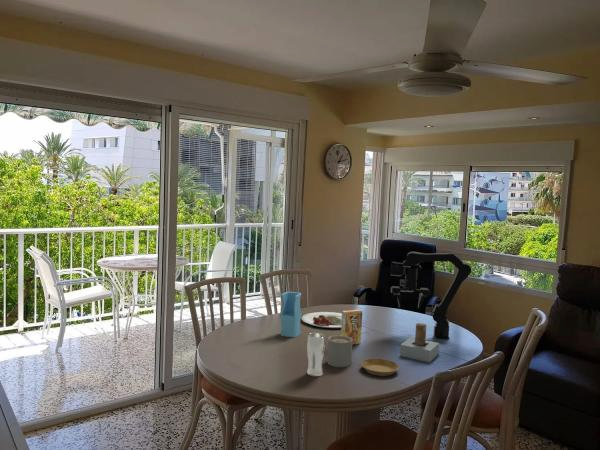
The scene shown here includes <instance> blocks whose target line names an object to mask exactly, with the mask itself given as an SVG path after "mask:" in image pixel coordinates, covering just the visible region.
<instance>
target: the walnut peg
mask: <svg viewBox="0 0 600 450" xmlns="http://www.w3.org/2000/svg"><path fill="white" fill-rule="evenodd" d="M426 335H427V324H426V323H420V322H418V323H416V324H415V333H414V336H415V337H414V338H415V345H418V346H423V347H425V341H427V339H426V338H427V336H426Z"/></svg>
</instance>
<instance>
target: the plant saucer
mask: <svg viewBox="0 0 600 450" xmlns="http://www.w3.org/2000/svg"><path fill="white" fill-rule="evenodd" d="M360 365H361V366H362V368H363V369H364V370H365V371H366V372H367V373H369V374H371V375H374V376H378V377H386V376H387V377H389V376H392V375H393V374H395V373H396V372H397V371H398V369H399V368H400V366H399V365H398V363H396V362H394V361H392V360H389V359H385V358H377V357H376V358H373V357H372V358H366V359H364V360H362V361H361V362H360Z"/></svg>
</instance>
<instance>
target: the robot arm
mask: <svg viewBox="0 0 600 450" xmlns="http://www.w3.org/2000/svg"><path fill="white" fill-rule="evenodd" d="M426 262H429V263H430V262H450V263H452V265H453V266H454V267H455V268H456V269H457V270H456V272H455V276H454V279H453V281H452V283H451V284H450V286H449V288H448V289H447V291H446V293H445V295H444V296H443V297H442V298H443V299H442V300H441V302H440V303H439V304H438V303H435V305H434V308H432V313H431V314H432V319H433V321H434V322H435V323H434V326H433V336H434V337H435V339H445V340H446V339H447V340H448V339H449V340H450V325H449V324H450V323H449V318H448V317H447V313H448V310H449V307H450V305H451V303H452V301H453V300H454V297H455V296H456V294H457V292H458V290H459V289H460V287H461V285H462V283H464V281H465V280H466V279H468V277H469V276H470V274H471V273H472V268H471V265H470V264H469V263H468V262H464V261H462V259H460V258H459V257H458V256H457V255H456V254H455V253H454V252H448V253H446V252H445V253H444V252H443V253H441V252H440V253H439V252H437V253H435V252H434V253H425V252H418V251H410V252H408V253H407V255H406V257H405V260H403V262H396V261H391V266H390V273H389V274H390V276H396V277H402V276H403V275H405V276H404V278H405V279H401V278H400V279H399V285H398V286H395V285H392V286H391V287H390V293H391V294H393V295H394V296H395V297H396V299H397V304H398V308H402V307H401V305H402V303H401V294H400V293H411V294H419V295H418V303H417V309H420V307H421V305H422V303H423V302H424V300H425V298H428V296H430V297H431V291H430V289H428V287H420V289H417V286H418V285H417V284H418V283H417V282H418V270H422V266H421V265H420V264H421V263H426ZM400 287H401V288H400ZM402 287H403V288H402Z"/></svg>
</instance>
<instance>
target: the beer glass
mask: <svg viewBox="0 0 600 450" xmlns="http://www.w3.org/2000/svg"><path fill="white" fill-rule="evenodd" d="M306 342H307V343H306V351H307V360H308V367H307V371H306V372H307V373H306V374H307V375H308V376H310V377H321V376H323V375H324V369H323V363H324V358H325V353H326V334H324V333H321V332H309V333H308V334H307V341H306Z"/></svg>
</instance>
